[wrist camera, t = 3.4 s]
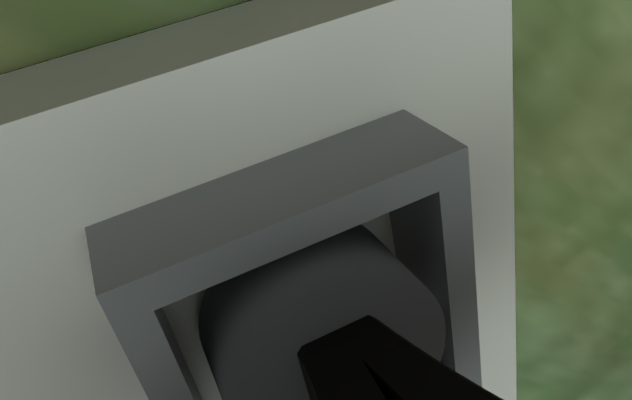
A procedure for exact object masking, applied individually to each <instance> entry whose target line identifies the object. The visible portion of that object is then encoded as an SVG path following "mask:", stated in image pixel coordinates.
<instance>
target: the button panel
mask: <svg viewBox="0 0 632 400" xmlns="http://www.w3.org/2000/svg"><path fill="white" fill-rule="evenodd" d="M360 224H361V225H363V226H364V227H365V228H367V229H368V230H369V231H371V232H372V233H373V234H374V235H375V236H376V237H377V238H378V239H379V240H380V241H381V242H382V243H383V244H384V245H385V246H386V247H387V248H388V249H389V250H390V251H391V252H392V253H393V254H394V255H395V256H396V257H397V258H398V259H399V260H400V261H401V262H402V263H403V264H404V265H405V266H406V267H407V268H408V269H409V270H410V271H411V272H412V273H413V274H414V275H415V276H416V277H417V278H418V279H419V280H420V281H421V282H422V283H423V284H424V285H425V286H426V287H427V288H428V289H429V290H430V291H431V292H432V294H433V295H434V296H435V297H436V299H437V301H438V302H439V304H440V306H441V309H442V311H443V314H444V319H445V325H446V339H445V347H444V351H443V355H442V359H441V361H440V362H441V363H443V364H444V365H446V366H448V367H449V368H451V369H452V370H454V371H456V372H457V373H459V374H461V375H462V376H464V377H466V378H467V379H469V380H471V381H472V382H474V383H476V384H477V385H479V386H481V387H483V388H484V389H486V390H488V391H489V392H491V393H493V394H495V395H496V396H498V397H500V398H502V399H503V400H517V396H516V313H515V229H514V146H513V63H512V0H252V1H248V2H245V3H241V4H238V5H235V6H231V7H228V8H225V9H221V10H218V11H214V12H211V13H208V14H204V15H201V16H198V17H194V18H191V19H187V20H184V21H181V22H177V23H174V24H170V25H167V26H164V27H160V28H157V29H154V30H150V31H147V32H143V33H140V34H137V35H133V36H130V37H127V38H123V39H120V40H116V41H113V42H110V43H106V44H103V45H99V46H96V47H93V48H89V49H86V50H83V51H79V52H76V53H72V54H69V55H66V56H62V57H59V58H56V59H52V60H49V61H45V62H42V63H39V64H35V65H32V66H28V67H25V68H22V69H18V70H15V71H12V72H8V73H5V74H1V75H0V400H222V398H221V395H220V393H219V390H218V387H217V385H216V382H215V379H214V377H213V374H212V372H211V369H210V366H209V364H208V361H207V358H206V356H205V353H204V350H203V347H202V344H201V341H200V336H199V328H198V325H199V312H200V307H201V303H202V300H203V297H204V294H205V291H206V289H207V288H209V287H212V286H214V285H217V284H219V283H221V282H224V281H226V280H228V279H231V278H233V277H236V276H238V275H240V274H243V273H245V272H248V271H250V270H252V269H255V268H257V267H260V266H262V265H264V264H267V263H269V262H272V261H274V260H276V259H279V258H281V257H283V256H286V255H288V254H291V253H293V252H295V251H298V250H300V249H303V248H305V247H307V246H310V245H312V244H315V243H317V242H319V241H322V240H324V239H327V238H329V237H331V236H334V235H336V234H338V233H341V232H343V231H346V230H348V229H350V228H353V227H355V226H358V225H360Z"/></svg>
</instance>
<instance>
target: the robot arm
mask: <svg viewBox="0 0 632 400" xmlns="http://www.w3.org/2000/svg"><path fill="white" fill-rule="evenodd" d="M297 356H298V360H299V363H300V366H301V370H302V373H303V377H304V380H305V383H306V387H307V390H308V394H309V397H310V400H503V399H502V398H500V397H498V396H496V395H495V394H493V393H491V392H489V391H488V390H486V389H484V388H483V387H481V386H479V385H477V384H476V383H474V382H472V381H471V380H469V379H467V378H466V377H464V376H462V375H461V374H459V373H457V372H456V371H454V370H452V369H451V368H449V367H448V366H446V365H444V364H443V363H441V362H440V361H438V360H436V359H435V358H433V357H432V356H430V355H429V354H427V353H426V352H424V351H423V350H421V349H420V348H418V347H417V346H415V345H414V344H412V343H411V342H409V341H408V340H406V339H405V338H403V337H402V336H400V335H399V334H397V333H396V332H395V331H393V330H392V329H390V328H389V327H388V326H386V325H385V324H383V323H382V322H381V321H379V320H378V319H376V318H375V317H373V316H370V315H367V316H365V317H363V318H361V319H358V320H356V321H354V322H352V323H350V324H348V325H346V326H344V327H341V328H339V329H337V330H335V331H333V332H331V333H328V334H326V335H324V336H322V337H320V338H318V339H315V340H313V341H311V342H309V343H307V344H305V345H302V346H301V348H300V350H299V351H298V353H297Z"/></svg>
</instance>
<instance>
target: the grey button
mask: <svg viewBox="0 0 632 400" xmlns="http://www.w3.org/2000/svg"><path fill="white" fill-rule="evenodd" d="M367 315H370V316H373V317H375V318H376V319H378V320H379V321H381V322H382V323H383V324H385V325H386V326H388V327H389V328H390V329H392V330H393V331H395V332H396V333H397V334H399V335H400V336H402V337H403V338H405V339H406V340H408V341H409V342H411V343H412V344H414V345H415V346H417V347H418V348H420V349H421V350H423V351H424V352H426V353H427V354H429V355H430V356H432V357H433V358H435V359H436V360H438V361H441V359H442V355H443V351H444V347H445V339H446V325H445V319H444V314H443V311H442V309H441V306H440V304H439V302H438V301H437V299H436V297H435V296H434V295H433V294H432V292H431V291H430V290H429V289H428V288H427V287H426V286H425V285H424V284H423V283H422V282H421V281H420V280H419V279H418V278H417V277H416V276H415V275H414V274H413V273H412V272H411V271H410V270H409V269H408V268H407V267H406V266H405V265H404V264H403V263H402V262H401V261H400V260H399V259H398V258H397V257H396V256H395V255H394V254H393V253H392V252H391V251H390V250H389V249H388V248H387V247H386V246H385V245H384V244H383V243H382V242H381V241H380V240H379V239H378V238H377V237H376V236H375V235H374V234H373V233H372V232H371V231H369V230H368V229H367V228H365V227H364V226H363V225H361V224H360V225H358V226H355V227H353V228H350V229H348V230H346V231H343V232H341V233H338V234H336V235H334V236H331V237H329V238H327V239H324V240H322V241H319V242H317V243H315V244H312V245H310V246H307V247H305V248H303V249H300V250H298V251H295V252H293V253H291V254H288V255H286V256H283V257H281V258H279V259H276V260H274V261H272V262H269V263H267V264H264V265H262V266H260V267H257V268H255V269H252V270H250V271H248V272H245V273H243V274H240V275H238V276H236V277H233V278H231V279H228V280H226V281H224V282H221V283H219V284H217V285H214V286H212V287H209V288H207V289H206V291H205V294H204V297H203V300H202V303H201V307H200V312H199V325H198V328H199V336H200V341H201V344H202V347H203V350H204V353H205V356H206V358H207V361H208V364H209V366H210V369H211V372H212V374H213V377H214V379H215V382H216V385H217V387H218V390H219V393H220V395H221V398H222V400H310V397H309V394H308V390H307V387H306V383H305V380H304V377H303V373H302V370H301V366H300V363H299V360H298V356H297V353H298V351H299V350H300V348H301V346H302V345H305V344H307V343H309V342H311V341H313V340H315V339H318V338H320V337H322V336H324V335H326V334H328V333H331V332H333V331H335V330H337V329H339V328H341V327H344V326H346V325H348V324H350V323H352V322H354V321H356V320H358V319H361V318H363V317H365V316H367Z"/></svg>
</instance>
